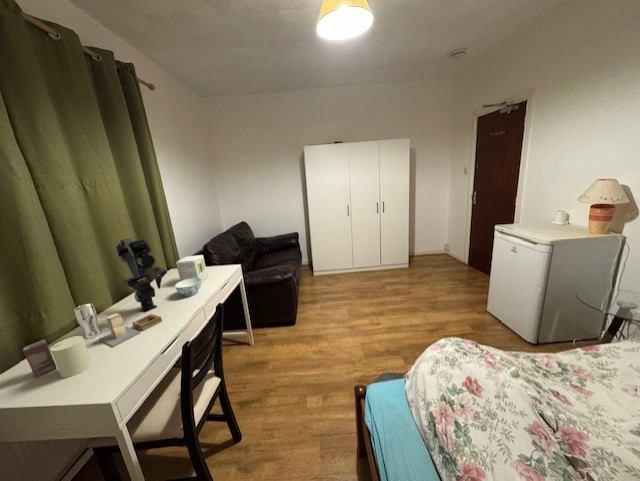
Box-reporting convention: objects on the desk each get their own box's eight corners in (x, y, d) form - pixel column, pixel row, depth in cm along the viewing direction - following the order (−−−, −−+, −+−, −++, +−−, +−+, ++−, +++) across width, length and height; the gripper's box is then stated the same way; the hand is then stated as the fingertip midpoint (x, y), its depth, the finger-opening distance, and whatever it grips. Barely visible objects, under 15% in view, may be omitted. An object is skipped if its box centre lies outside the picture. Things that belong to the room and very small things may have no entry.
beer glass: (81, 341, 118) (70, 312, 115) (86, 333, 124) (76, 306, 121) (100, 335, 121) (90, 307, 118) (104, 328, 127) (95, 301, 124)
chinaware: (208, 288, 166) (206, 277, 164) (193, 299, 152) (191, 287, 150) (188, 288, 169) (185, 278, 167) (172, 299, 154) (169, 287, 153)
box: (56, 364, 103) (45, 338, 100) (57, 369, 100) (46, 342, 97) (34, 373, 98) (22, 346, 96) (34, 378, 96) (22, 351, 93)
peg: (112, 336, 118) (106, 317, 116) (122, 332, 121) (116, 313, 119) (116, 338, 116) (110, 319, 114) (126, 333, 119) (120, 314, 117)
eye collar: (133, 327, 126) (132, 322, 125) (152, 318, 133) (151, 313, 133) (143, 331, 121) (141, 326, 121) (162, 321, 129) (160, 316, 128)
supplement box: (199, 284, 174) (194, 260, 170) (181, 286, 175) (175, 262, 171) (208, 277, 187) (203, 254, 183) (191, 278, 188) (185, 256, 184)
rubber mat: (99, 340, 118) (98, 338, 117) (125, 327, 127) (125, 326, 127) (113, 347, 111) (113, 345, 111) (140, 333, 120) (140, 331, 120)
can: (67, 365, 101) (57, 339, 98) (96, 357, 105) (87, 331, 102) (55, 381, 93) (43, 353, 90) (86, 371, 96) (76, 344, 94)
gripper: (130, 272, 119) (139, 302, 123) (169, 259, 135) (176, 286, 138) (119, 270, 125) (127, 299, 128) (157, 258, 140) (164, 284, 144)
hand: (150, 291), depth 134 cm, fingers open, 9 cm apart
